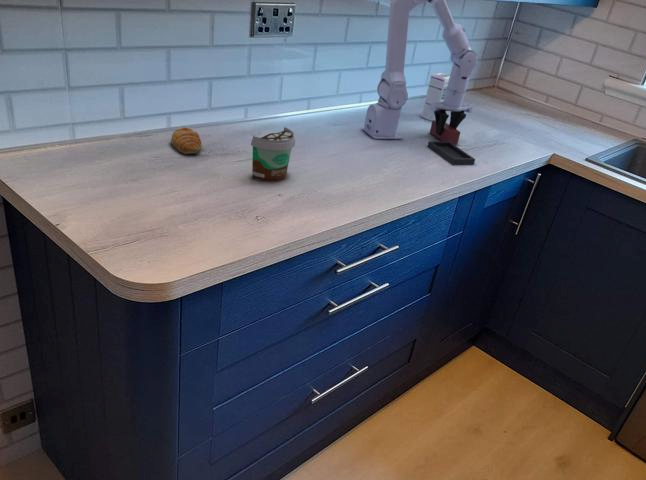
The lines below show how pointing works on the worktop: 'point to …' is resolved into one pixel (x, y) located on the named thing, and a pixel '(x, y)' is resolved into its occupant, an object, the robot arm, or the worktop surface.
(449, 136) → the dark red block
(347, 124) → the worktop surface
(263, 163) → the food container
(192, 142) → the pastry
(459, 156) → the cradle
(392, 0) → the robot arm
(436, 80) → the syrup box
